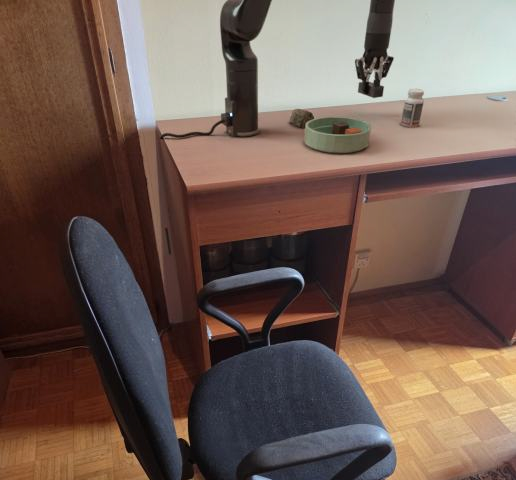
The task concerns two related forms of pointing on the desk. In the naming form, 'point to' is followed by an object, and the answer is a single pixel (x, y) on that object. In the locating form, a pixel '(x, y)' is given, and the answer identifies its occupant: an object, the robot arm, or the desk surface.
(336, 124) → the walnut block
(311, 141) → the bowl
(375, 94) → the black rectangular block
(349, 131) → the terracotta block
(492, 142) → the desk surface
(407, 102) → the pill bottle
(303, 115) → the rock
